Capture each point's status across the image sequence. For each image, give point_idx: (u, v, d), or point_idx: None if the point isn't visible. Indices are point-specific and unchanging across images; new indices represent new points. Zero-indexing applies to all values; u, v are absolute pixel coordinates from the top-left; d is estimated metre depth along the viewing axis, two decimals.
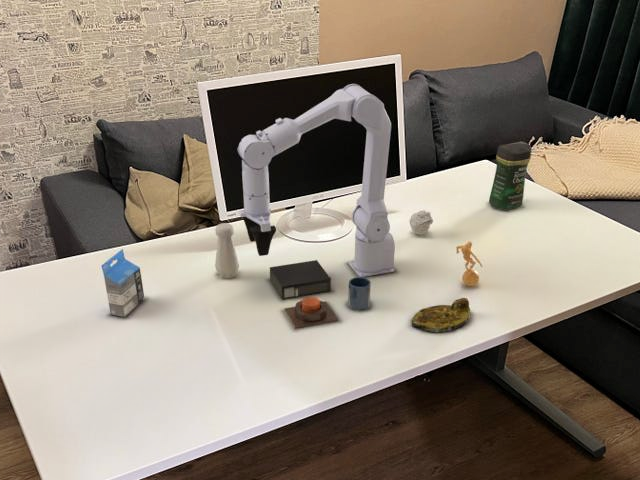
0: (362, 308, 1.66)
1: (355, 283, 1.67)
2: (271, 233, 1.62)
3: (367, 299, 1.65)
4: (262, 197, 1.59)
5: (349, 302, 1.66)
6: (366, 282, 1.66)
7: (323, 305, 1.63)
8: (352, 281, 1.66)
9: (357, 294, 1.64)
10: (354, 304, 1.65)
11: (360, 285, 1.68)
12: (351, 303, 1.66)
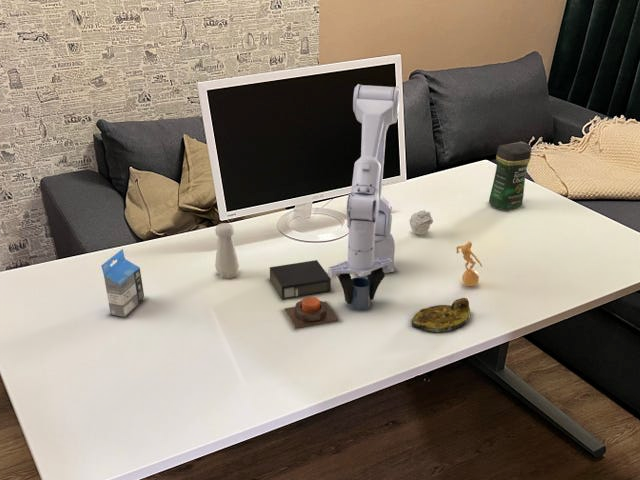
0: (362, 308, 1.66)
1: (356, 282, 1.67)
2: None
3: (367, 299, 1.65)
4: None
5: None
6: (366, 282, 1.66)
7: (323, 305, 1.63)
8: None
9: (357, 294, 1.64)
10: (354, 304, 1.65)
11: (360, 285, 1.68)
12: (351, 303, 1.66)
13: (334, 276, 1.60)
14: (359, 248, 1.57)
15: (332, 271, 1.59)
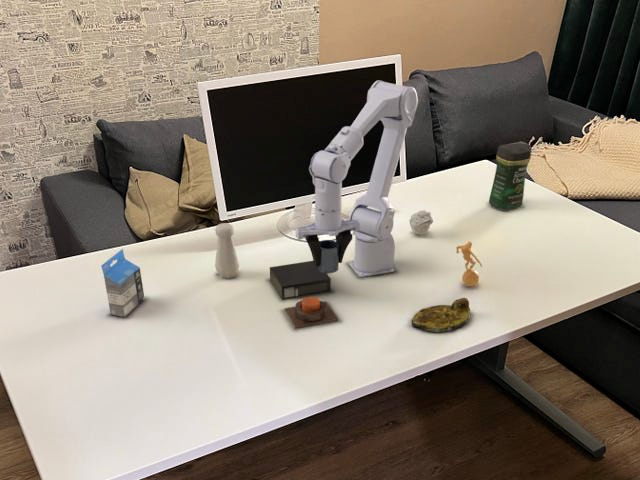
0: (331, 271, 1.66)
1: (324, 245, 1.67)
2: None
3: (336, 261, 1.65)
4: None
5: None
6: (335, 245, 1.66)
7: (323, 305, 1.63)
8: (321, 244, 1.66)
9: (325, 256, 1.63)
10: (323, 267, 1.65)
11: (329, 248, 1.67)
12: (320, 266, 1.66)
13: (301, 237, 1.60)
14: (320, 207, 1.57)
15: (299, 232, 1.59)
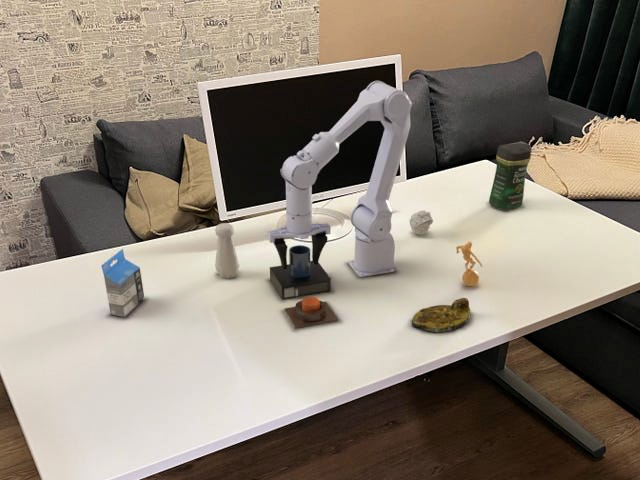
0: (302, 275, 1.71)
1: (296, 251, 1.72)
2: None
3: (307, 266, 1.70)
4: None
5: (290, 269, 1.71)
6: (306, 250, 1.71)
7: (323, 305, 1.63)
8: (293, 249, 1.71)
9: (297, 261, 1.69)
10: (294, 271, 1.70)
11: (301, 253, 1.72)
12: (292, 270, 1.71)
13: (273, 240, 1.65)
14: (287, 209, 1.63)
15: (271, 235, 1.64)
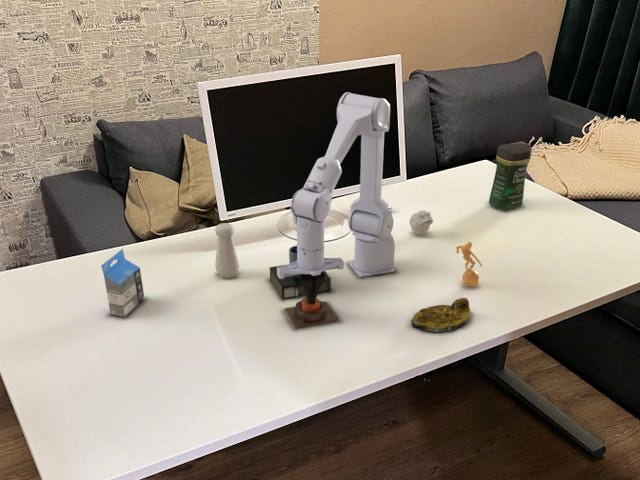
0: None
1: (296, 251, 1.72)
2: None
3: None
4: None
5: None
6: None
7: (323, 305, 1.63)
8: (293, 249, 1.71)
9: None
10: None
11: None
12: None
13: (283, 277, 1.55)
14: (303, 247, 1.51)
15: (280, 271, 1.54)
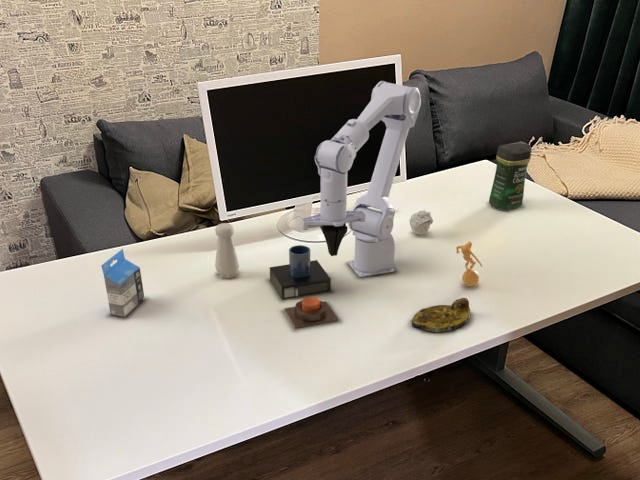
0: (302, 275, 1.71)
1: (296, 251, 1.72)
2: None
3: (307, 266, 1.70)
4: None
5: (290, 269, 1.71)
6: (306, 250, 1.71)
7: (323, 305, 1.63)
8: (293, 249, 1.71)
9: (297, 261, 1.69)
10: (294, 271, 1.70)
11: (301, 253, 1.72)
12: (292, 270, 1.71)
13: (306, 228, 1.59)
14: (325, 197, 1.56)
15: (304, 222, 1.58)
